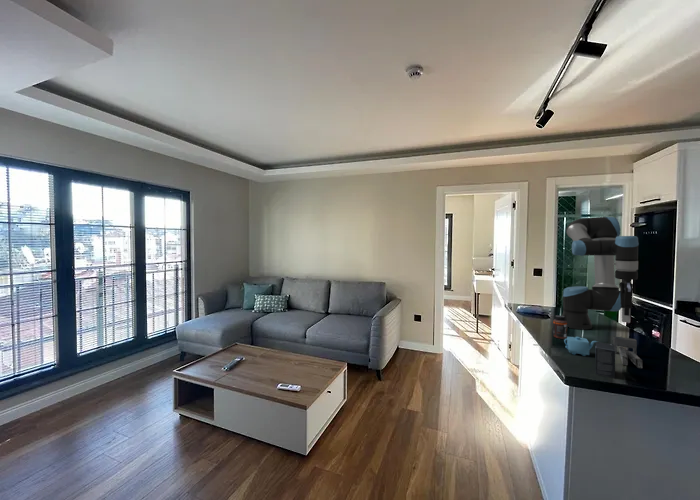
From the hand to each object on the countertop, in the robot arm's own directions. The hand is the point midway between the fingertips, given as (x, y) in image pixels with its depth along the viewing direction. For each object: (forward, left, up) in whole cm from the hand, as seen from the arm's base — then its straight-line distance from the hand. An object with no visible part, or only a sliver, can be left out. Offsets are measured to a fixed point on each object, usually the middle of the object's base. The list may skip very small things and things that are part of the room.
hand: (625, 321), depth 134 cm
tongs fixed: (+13, -1, -14) cm, 19 cm away
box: (+34, -9, -14) cm, 38 cm away
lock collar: (+5, -1, -14) cm, 14 cm away
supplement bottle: (-7, -25, -14) cm, 29 cm away
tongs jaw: (+16, +2, -13) cm, 21 cm away
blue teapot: (+15, -16, -14) cm, 26 cm away
